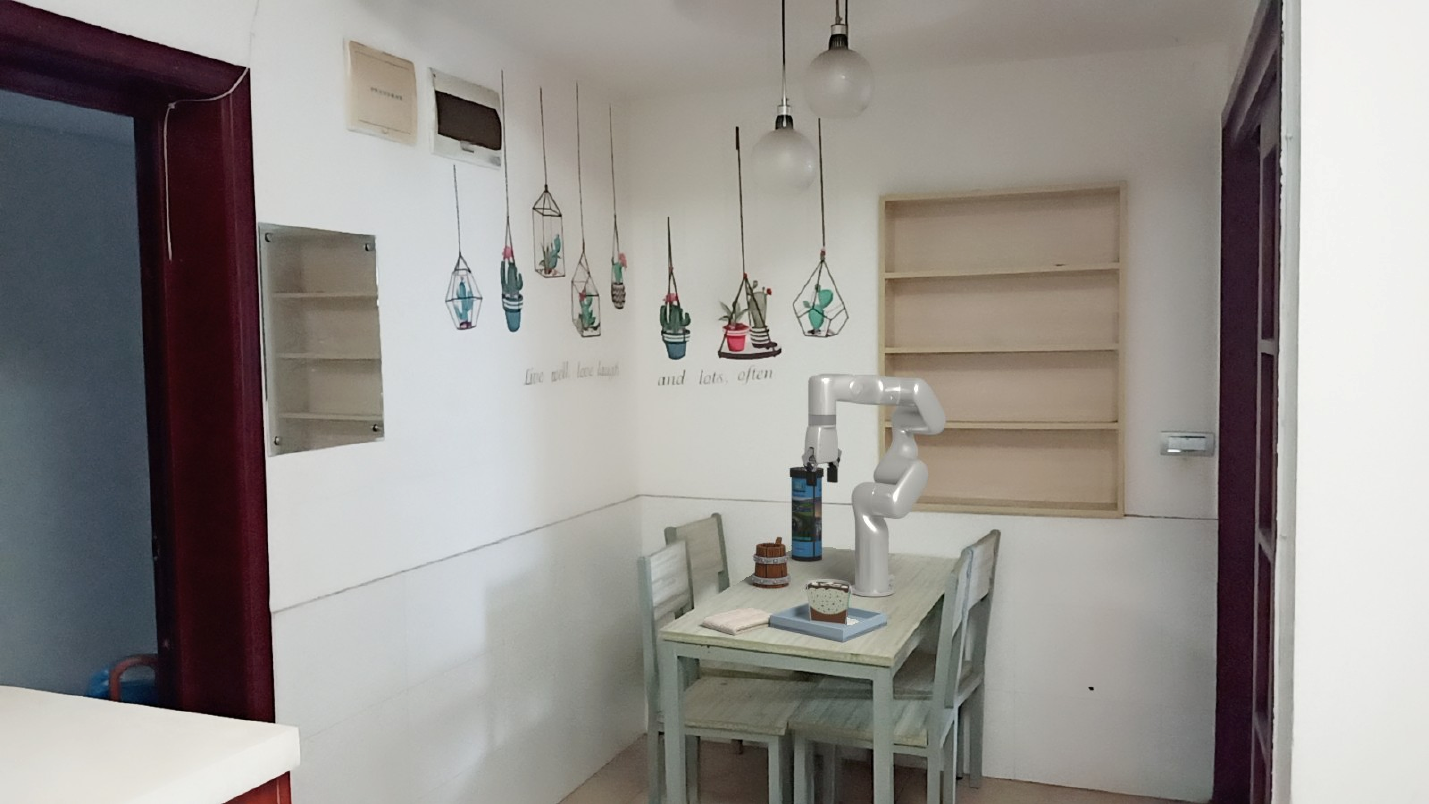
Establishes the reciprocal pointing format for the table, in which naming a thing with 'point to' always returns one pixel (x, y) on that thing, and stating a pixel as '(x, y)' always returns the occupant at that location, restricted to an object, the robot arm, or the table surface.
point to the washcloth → (738, 621)
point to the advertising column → (806, 516)
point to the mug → (771, 565)
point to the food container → (828, 600)
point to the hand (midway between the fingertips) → (822, 484)
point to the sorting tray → (800, 623)
